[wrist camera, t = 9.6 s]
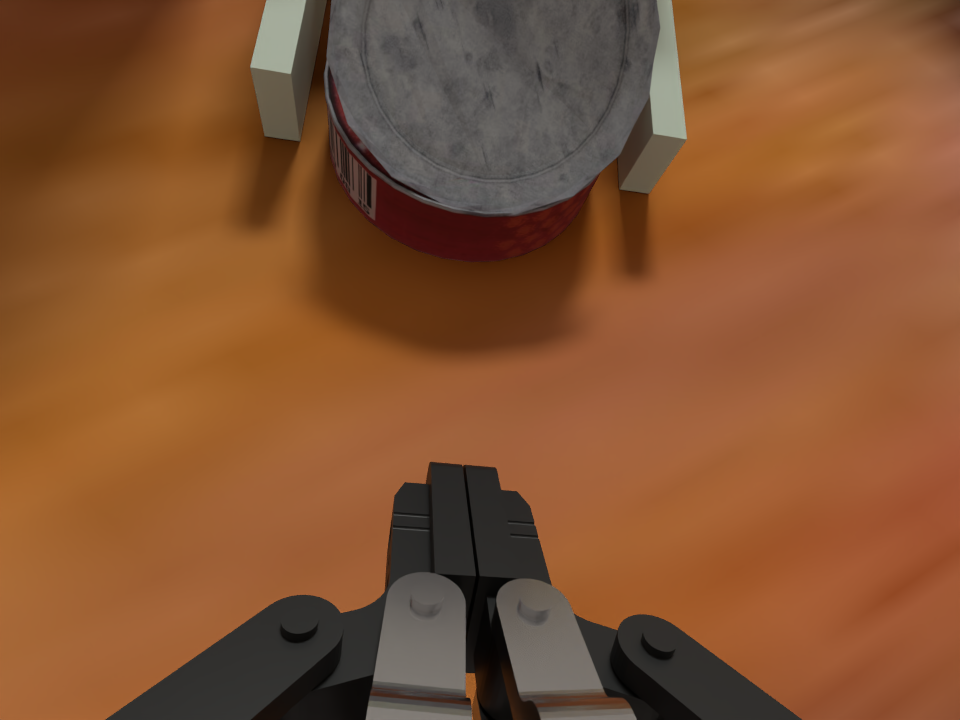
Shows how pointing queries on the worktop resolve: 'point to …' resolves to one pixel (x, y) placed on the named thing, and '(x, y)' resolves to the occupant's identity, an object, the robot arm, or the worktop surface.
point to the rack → (292, 56)
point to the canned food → (482, 114)
